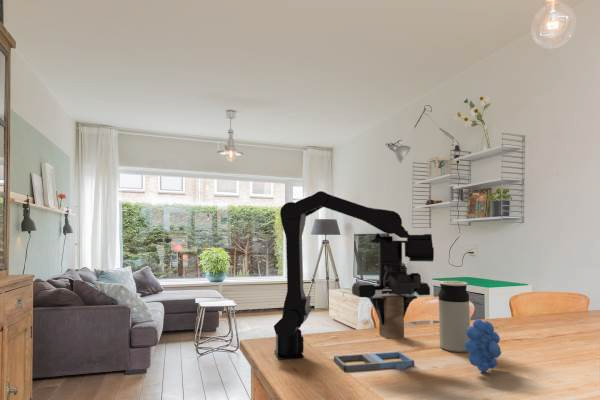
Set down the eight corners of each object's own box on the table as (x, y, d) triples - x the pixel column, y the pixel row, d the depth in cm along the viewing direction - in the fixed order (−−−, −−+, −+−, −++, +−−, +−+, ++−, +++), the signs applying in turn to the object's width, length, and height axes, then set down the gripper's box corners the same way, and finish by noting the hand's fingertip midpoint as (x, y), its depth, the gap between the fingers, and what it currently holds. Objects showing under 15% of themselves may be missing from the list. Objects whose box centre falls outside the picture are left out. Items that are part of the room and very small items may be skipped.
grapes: (485, 382, 87) (483, 325, 88) (458, 373, 92) (456, 319, 93) (516, 372, 93) (514, 319, 94) (489, 364, 98) (487, 314, 99)
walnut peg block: (387, 339, 98) (386, 297, 99) (379, 334, 103) (378, 294, 103) (404, 338, 99) (403, 296, 100) (395, 333, 104) (395, 294, 104)
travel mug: (477, 351, 110) (475, 283, 111) (452, 353, 107) (450, 284, 108) (457, 343, 117) (455, 280, 118) (433, 345, 115) (432, 281, 116)
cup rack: (345, 373, 93) (345, 367, 93) (332, 359, 102) (332, 354, 102) (416, 367, 96) (416, 362, 97) (397, 354, 106) (397, 350, 106)
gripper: (367, 264, 92) (368, 334, 91) (441, 262, 97) (443, 330, 95) (351, 260, 103) (351, 323, 102) (418, 259, 107) (419, 319, 106)
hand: (391, 324), depth 101 cm, fingers closed on walnut peg block, 4 cm apart
